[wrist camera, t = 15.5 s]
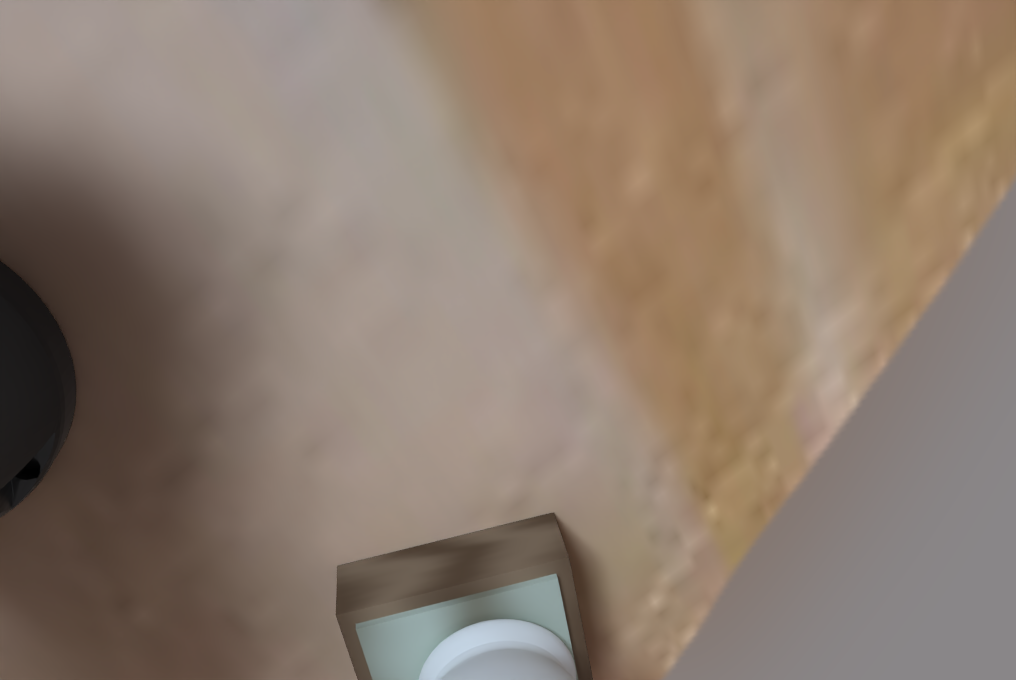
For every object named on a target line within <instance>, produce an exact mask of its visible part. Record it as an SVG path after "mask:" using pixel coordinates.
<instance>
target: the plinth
mask: <svg viewBox="0 0 1016 680" xmlns="http://www.w3.org/2000/svg"><path fill="white" fill-rule="evenodd" d="M336 617H337V620H338V623H339V626H340V629H341V632H342V635H343V638H344V641H345V644H346V647H347V649H348V652H349V655H350V658H351V661H352V664H353V667H354V670H355V673H356V676H357V679H358V680H419V676H420V673H421V670H422V667H423V665H424V663H425V661H426V660H427V658H428V657H429V655H430V654H431V652H432V651H433V650H434V649H435V648H436V647H437V646H438V645H439V644H440V643H441V642H442V641H443V640H445V639H446V638H447V637H449V636H450V635H452V634H453V633H455V632H457V631H459V630H461V629H463V628H465V627H467V626H469V625H472V624H476V623H479V622H483V621H488V620H495V619H516V620H522V621H527V622H531V623H534V624H536V625H539V626H541V627H543V628H545V629H547V630H549V631H550V632H552V633H553V634H555V635H556V636H557V637H558V638H559V639H560V640H561V641H562V642H563V643H564V644H565V645H566V647H567V648H568V650H569V652H570V653H571V655H572V658H573V660H574V664H575V669H576V680H593V678H592V672H591V667H590V662H589V657H588V652H587V647H586V642H585V637H584V632H583V626H582V621H581V616H580V611H579V606H578V601H577V596H576V591H575V586H574V580H573V575H572V570H571V565H570V560H569V556H568V553H567V550H566V547H565V544H564V541H563V539H562V536H561V533H560V530H559V527H558V524H557V521H556V518H555V515H554V513H550V514H546V515H541V516H537V517H533V518H529V519H525V520H521V521H517V522H513V523H509V524H505V525H501V526H497V527H493V528H489V529H485V530H481V531H477V532H473V533H469V534H465V535H461V536H457V537H453V538H449V539H445V540H441V541H437V542H432V543H428V544H424V545H420V546H416V547H412V548H408V549H404V550H400V551H396V552H392V553H388V554H384V555H380V556H376V557H372V558H368V559H364V560H360V561H356V562H352V563H348V564H344V565H340V566H337V597H336Z"/></svg>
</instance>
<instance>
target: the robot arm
mask: <svg viewBox="0 0 1016 680" xmlns="http://www.w3.org/2000/svg"><path fill="white" fill-rule="evenodd" d="M75 403H76V381H75V372H74V367H73V362H72V359H71V355H70V352H69V349H68V346H67V344H66V341H65V338H64V336H63V334H62V332H61V330H60V328H59V326H58V324H57V323H56V321H55V319H54V317H53V316H52V314H51V313H50V311H49V310H48V308H47V307H46V306H45V304H44V303H43V302H42V301H41V299H40V298H39V297H38V296H37V294H36V293H35V292H34V291H33V290H32V289H31V288H30V287H29V286H28V285H27V284H26V283H25V282H24V281H23V280H22V279H21V278H20V277H19V276H18V275H17V274H16V273H14V272H13V271H12V270H11V269H10V268H9V267H7V266H6V265H5V264H3V263H2V262H1V261H0V517H2V516H3V515H5V514H6V513H8V512H9V511H11V510H12V509H13V508H15V507H16V506H17V505H18V504H19V503H20V502H22V501H23V500H24V499H25V498H26V497H27V496H28V495H29V494H30V493H31V492H32V491H33V490H34V489H35V487H36V486H37V485H38V484H39V483H40V481H41V480H42V479H43V477H44V476H45V474H46V473H47V472H48V470H49V468H50V466H51V465H52V463H53V461H54V459H55V458H56V456H57V454H58V453H59V451H60V449H61V447H62V446H63V444H64V442H65V440H66V437H67V435H68V433H69V430H70V427H71V424H72V420H73V416H74V410H75Z"/></svg>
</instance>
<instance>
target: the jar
mask: <svg viewBox="0 0 1016 680" xmlns="http://www.w3.org/2000/svg"><path fill="white" fill-rule="evenodd" d="M419 680H576V669H575V664H574V660H573V658H572V655H571V653H570V652H569V650H568V648H567V647H566V645H565V644H564V643H563V642H562V641H561V640H560V639H559V638H558V637H557V636H556V635H555V634H553V633H552V632H550V631H549V630H547V629H545V628H543V627H541V626H539V625H536V624H534V623H531V622H527V621H522V620H516V619H495V620H488V621H483V622H479V623H476V624H472V625H469V626H467V627H465V628H463V629H461V630H459V631H457V632H455V633H453V634H452V635H450V636H449V637H447V638H446V639H445V640H443V641H442V642H441V643H440V644H439V645H438V646H437V647H436V648H435V649H434V650H433V651H432V652H431V654H430V655H429V657H428V658H427V660H426V661H425V663H424V665H423V667H422V670H421V673H420V676H419Z"/></svg>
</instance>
